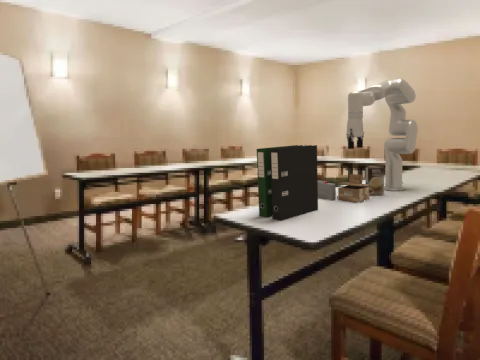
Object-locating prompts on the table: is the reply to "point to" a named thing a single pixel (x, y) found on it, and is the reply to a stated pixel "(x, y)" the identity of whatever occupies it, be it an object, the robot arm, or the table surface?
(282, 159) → the ring binders
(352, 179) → the walnut block
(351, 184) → the lid
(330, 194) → the cassette player
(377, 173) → the coffee box
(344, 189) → the carton
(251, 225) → the table surface
